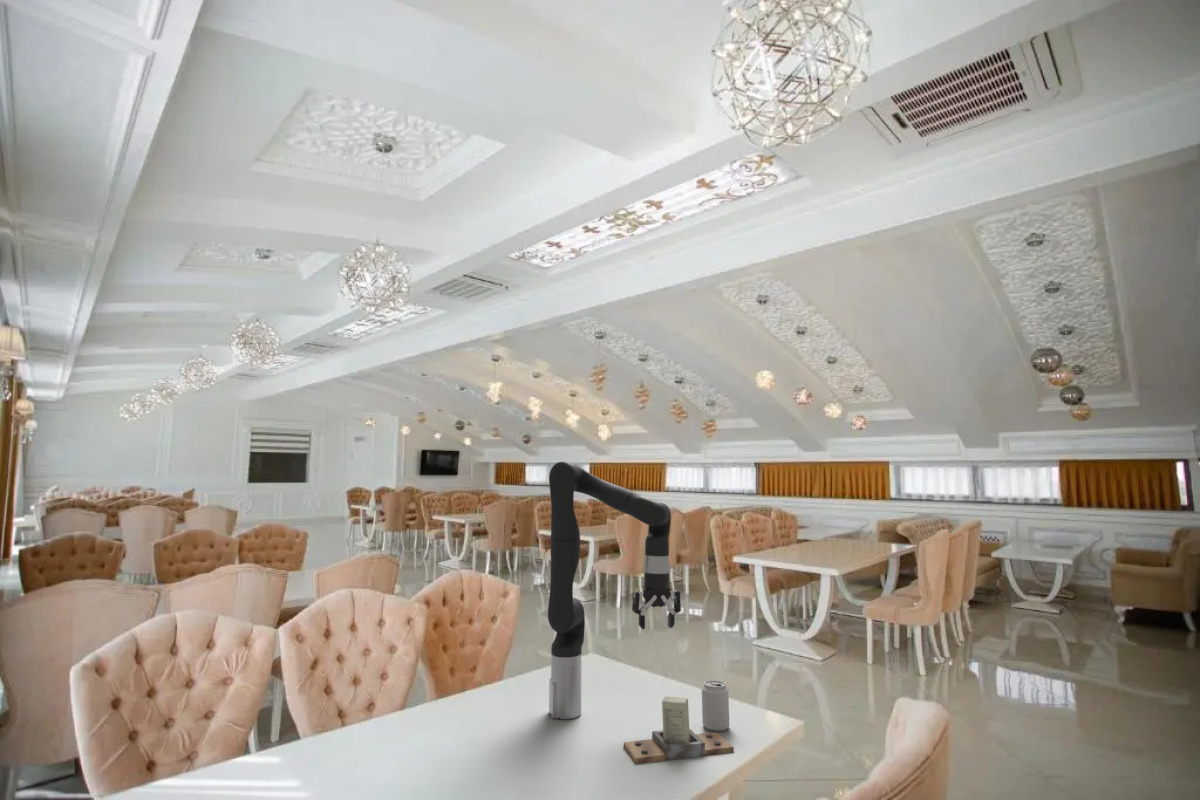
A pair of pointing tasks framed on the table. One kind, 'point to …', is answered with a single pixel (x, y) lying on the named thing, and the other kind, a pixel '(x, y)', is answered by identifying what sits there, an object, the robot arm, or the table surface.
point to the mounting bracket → (676, 747)
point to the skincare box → (675, 720)
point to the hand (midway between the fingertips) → (656, 627)
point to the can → (715, 705)
